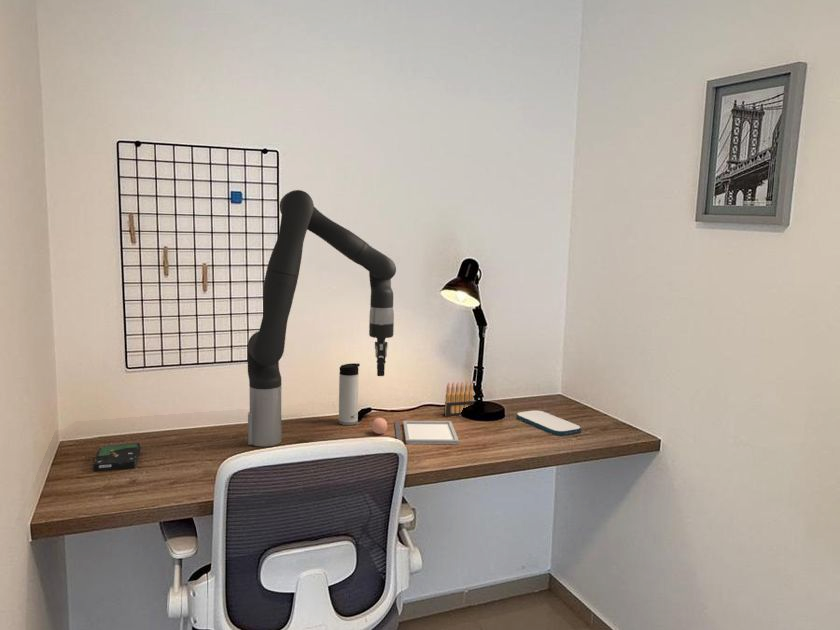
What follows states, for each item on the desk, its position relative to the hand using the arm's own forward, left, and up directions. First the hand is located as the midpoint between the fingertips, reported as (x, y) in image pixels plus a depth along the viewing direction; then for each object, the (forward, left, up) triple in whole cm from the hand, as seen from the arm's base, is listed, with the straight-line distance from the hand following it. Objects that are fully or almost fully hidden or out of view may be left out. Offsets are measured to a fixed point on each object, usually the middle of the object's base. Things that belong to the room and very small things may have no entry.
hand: (380, 372), depth 208 cm
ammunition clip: (+28, +21, -20) cm, 40 cm away
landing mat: (+15, 0, -20) cm, 24 cm away
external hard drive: (+57, +11, -20) cm, 62 cm away
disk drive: (-71, -25, -20) cm, 78 cm away
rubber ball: (0, 0, -20) cm, 20 cm away
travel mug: (-10, +11, -20) cm, 25 cm away
